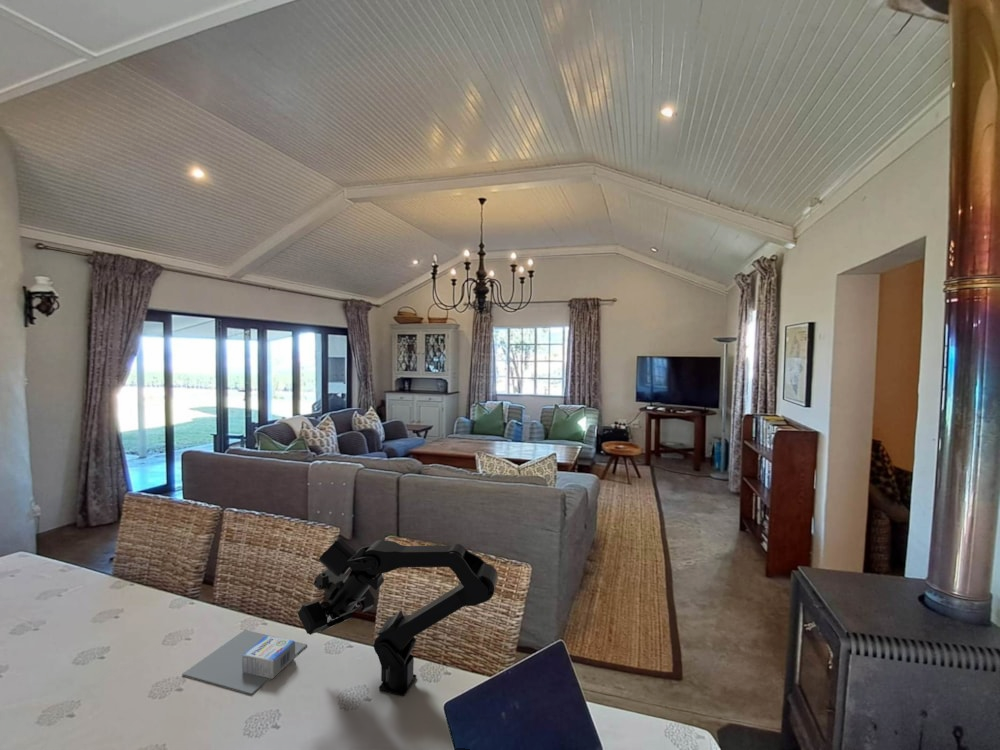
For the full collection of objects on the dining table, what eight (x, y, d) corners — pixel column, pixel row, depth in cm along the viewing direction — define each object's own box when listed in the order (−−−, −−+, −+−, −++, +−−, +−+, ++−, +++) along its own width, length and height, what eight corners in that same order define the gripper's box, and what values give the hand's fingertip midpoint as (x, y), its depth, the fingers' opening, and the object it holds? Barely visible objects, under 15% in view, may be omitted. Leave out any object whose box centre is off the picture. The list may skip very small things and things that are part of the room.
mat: (307, 645, 117) (307, 644, 117) (251, 695, 100) (251, 693, 100) (245, 631, 123) (245, 629, 123) (182, 675, 105) (182, 673, 105)
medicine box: (273, 661, 104) (241, 654, 106) (273, 679, 104) (241, 673, 106) (295, 640, 112) (265, 634, 114) (295, 657, 112) (265, 651, 114)
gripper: (367, 550, 117) (337, 590, 121) (304, 568, 101) (272, 613, 105) (389, 586, 112) (357, 626, 116) (327, 611, 96) (292, 656, 100)
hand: (321, 629), depth 109 cm, fingers closed
